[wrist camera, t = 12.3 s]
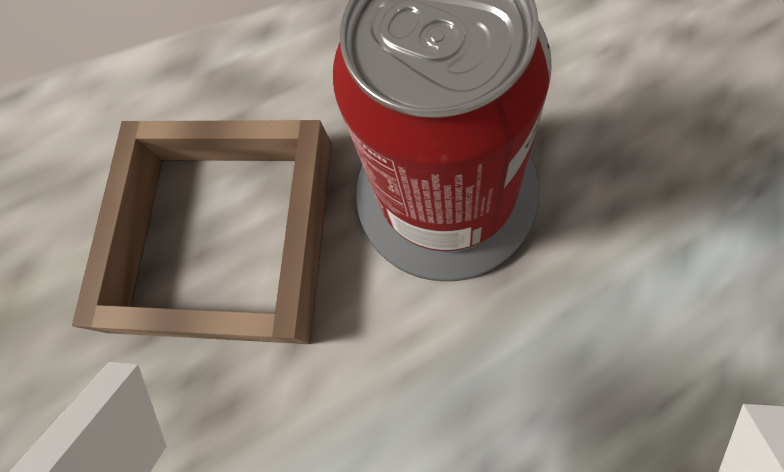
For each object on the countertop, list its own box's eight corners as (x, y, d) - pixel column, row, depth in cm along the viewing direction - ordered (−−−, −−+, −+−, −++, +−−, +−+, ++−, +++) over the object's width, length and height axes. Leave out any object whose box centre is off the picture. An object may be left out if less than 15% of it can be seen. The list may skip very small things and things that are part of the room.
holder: (331, 144, 28) (320, 120, 26) (309, 344, 25) (294, 338, 23) (148, 143, 30) (121, 121, 27) (106, 333, 26) (71, 325, 24)
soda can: (478, 280, 24) (494, 174, 13) (354, 219, 26) (273, 77, 15) (540, 161, 26) (603, -30, 14) (419, 110, 27) (390, -97, 16)
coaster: (535, 114, 27) (537, 108, 27) (539, 284, 24) (540, 281, 24) (365, 115, 28) (363, 109, 28) (350, 277, 26) (348, 275, 25)
